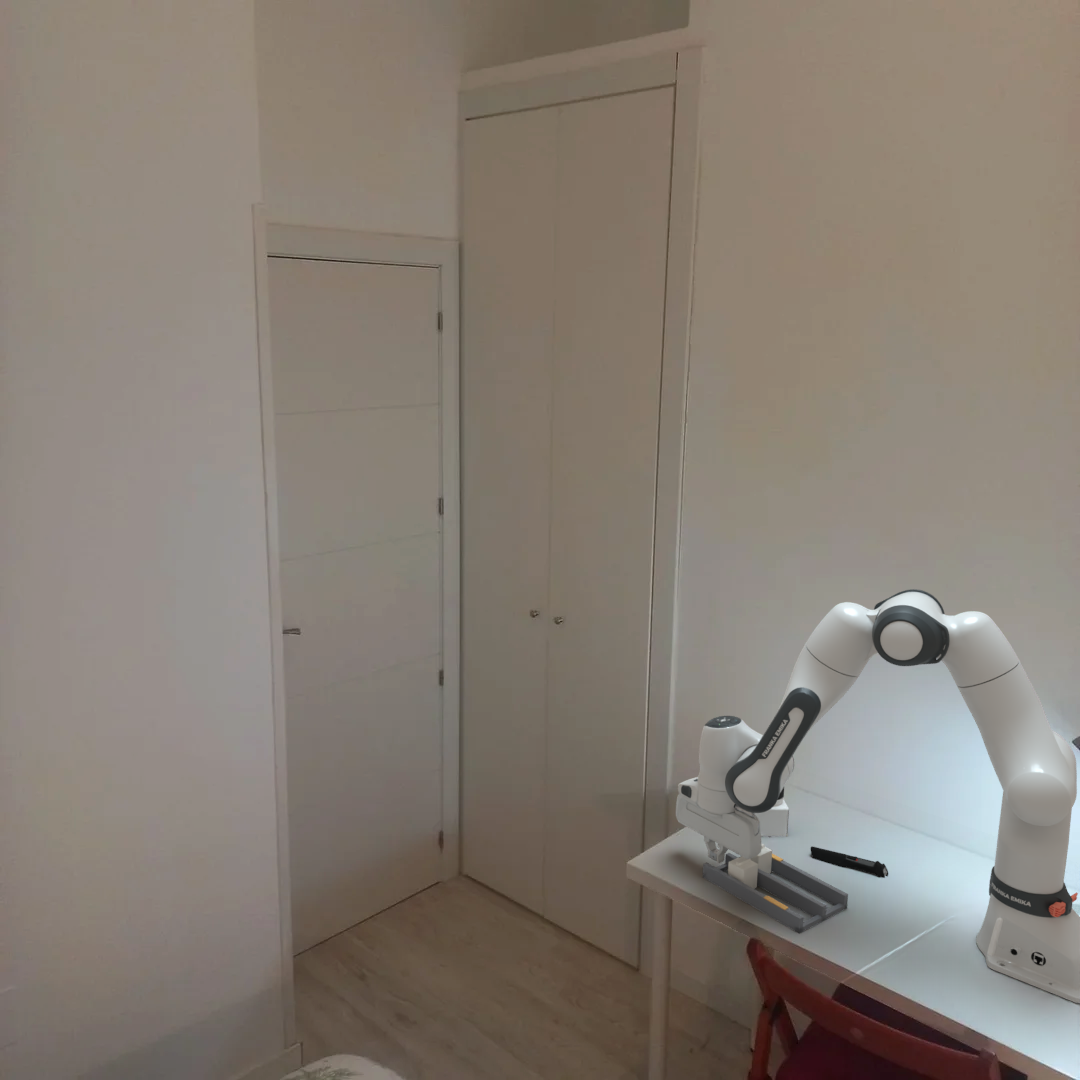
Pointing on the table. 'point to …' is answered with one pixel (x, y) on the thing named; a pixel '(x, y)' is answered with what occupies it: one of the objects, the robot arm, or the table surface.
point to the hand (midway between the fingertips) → (716, 859)
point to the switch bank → (782, 893)
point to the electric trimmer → (849, 861)
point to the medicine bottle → (775, 818)
